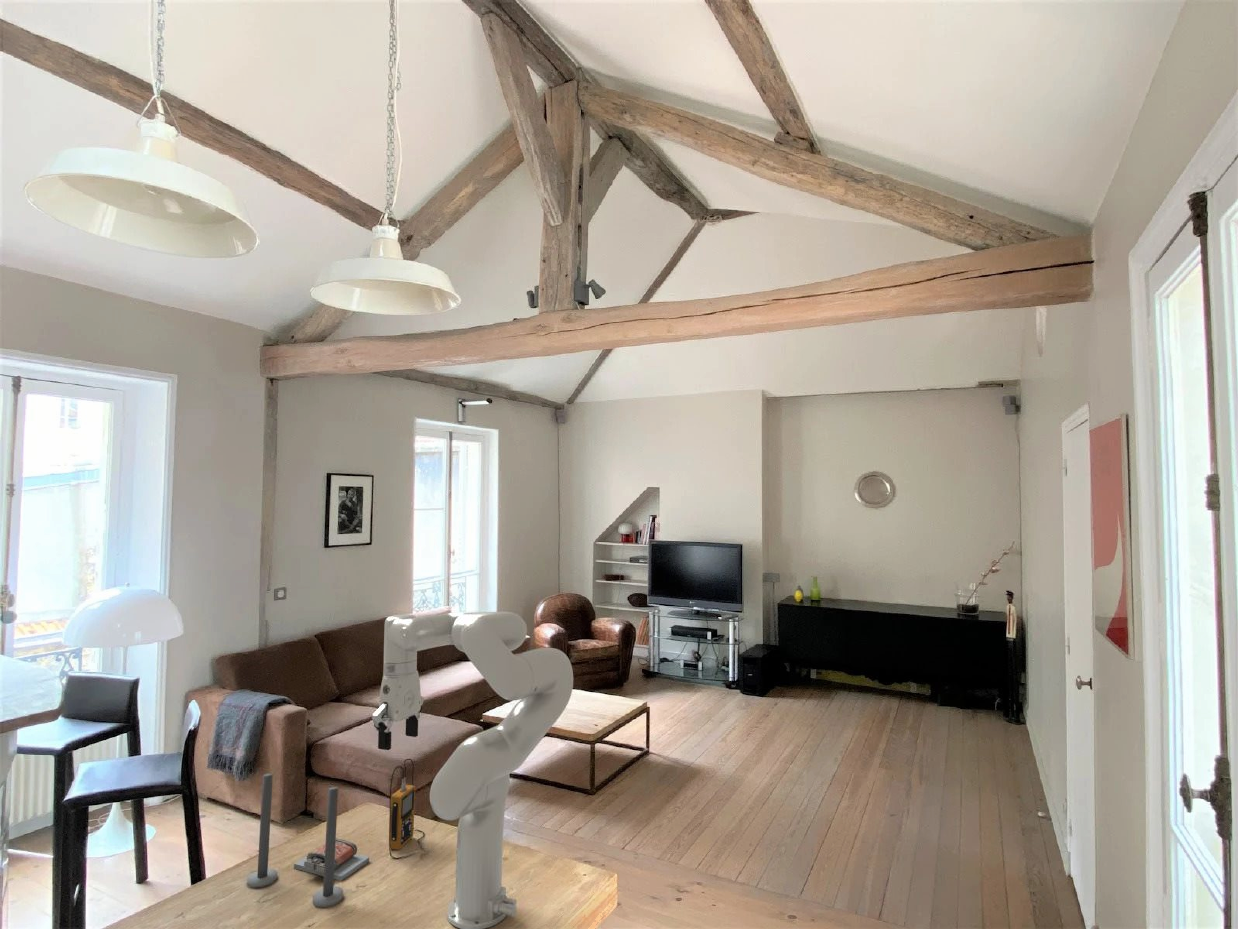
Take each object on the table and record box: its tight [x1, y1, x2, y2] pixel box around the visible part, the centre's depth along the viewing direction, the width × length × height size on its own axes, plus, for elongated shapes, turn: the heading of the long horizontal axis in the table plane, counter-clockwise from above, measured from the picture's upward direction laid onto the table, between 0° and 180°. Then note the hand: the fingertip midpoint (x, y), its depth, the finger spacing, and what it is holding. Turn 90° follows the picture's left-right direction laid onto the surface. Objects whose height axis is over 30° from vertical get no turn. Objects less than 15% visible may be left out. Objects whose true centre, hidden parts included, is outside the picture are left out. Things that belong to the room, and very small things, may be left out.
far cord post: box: [246, 773, 278, 888], centre depth 149 cm, size 6×6×23 cm
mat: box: [293, 853, 370, 882], centre depth 155 cm, size 14×9×1 cm, turn 70°
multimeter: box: [388, 758, 428, 860], centre depth 166 cm, size 15×10×20 cm
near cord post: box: [312, 786, 344, 908], centre depth 142 cm, size 6×6×23 cm
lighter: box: [304, 837, 358, 872], centre depth 154 cm, size 8×3×10 cm
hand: (398, 742), depth 155 cm, fingers open, 9 cm apart
